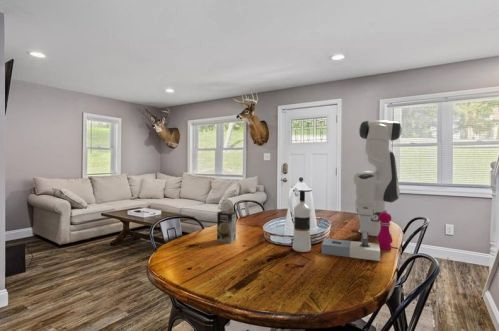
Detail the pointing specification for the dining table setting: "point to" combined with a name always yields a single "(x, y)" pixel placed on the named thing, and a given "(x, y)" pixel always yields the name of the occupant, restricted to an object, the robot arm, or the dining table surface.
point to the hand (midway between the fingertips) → (364, 237)
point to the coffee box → (226, 226)
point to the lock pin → (364, 241)
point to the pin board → (350, 249)
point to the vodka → (302, 226)
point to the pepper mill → (384, 231)
